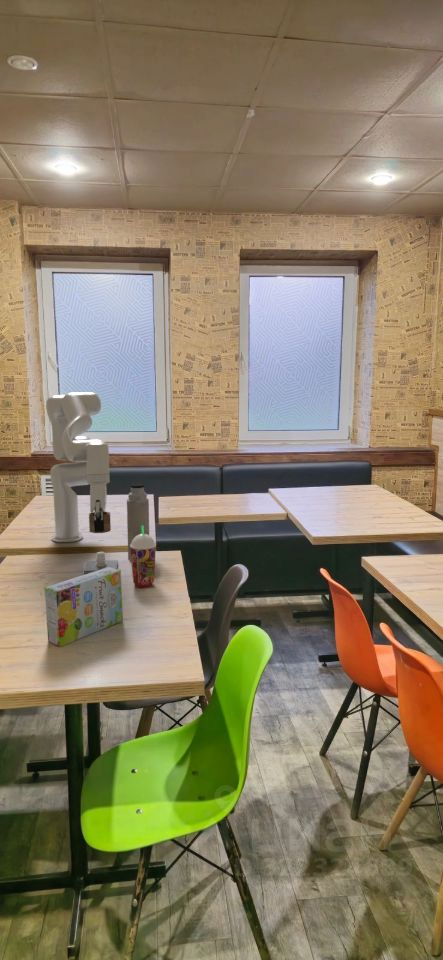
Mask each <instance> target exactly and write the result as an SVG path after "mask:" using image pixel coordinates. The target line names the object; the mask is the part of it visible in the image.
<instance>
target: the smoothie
mask: <svg viewBox="0 0 443 960" xmlns="http://www.w3.org/2000/svg"><path fill="white" fill-rule="evenodd" d="M156 546H157V544H156V543H155V540H154V539H153V537H152V536H151V535H150V534H149V535H147V534H144V526H142V534H139V535H137V536H136V537H135V538H134V539H133V540H132V543H131V544H130V550H131V560H130V561H131V570H132V571H131V573H132V582H133V584H134V587H136V588H139V589H147V588H151V587H152V586H153V584H154V582H155V574H156V573H155V570H156V569H155V568H156V550H157V549H156Z"/></svg>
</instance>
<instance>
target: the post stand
mask: <svg viewBox="0 0 443 960" xmlns="http://www.w3.org/2000/svg"><path fill="white" fill-rule="evenodd" d="M85 562H86V563H85V566H84V568H83V575H85V574H88V573H92V572H95V571H98V570H101V569H104V568H107V567H111V568H114V569H117V570H118V566H119V561H118V559H107V560H106V553H105V551H98V552H96V560H86V561H85Z"/></svg>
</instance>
